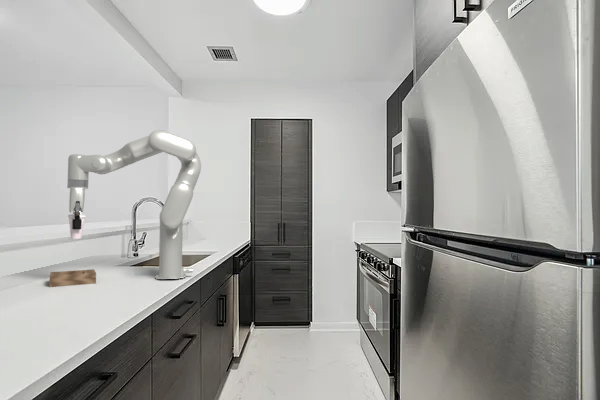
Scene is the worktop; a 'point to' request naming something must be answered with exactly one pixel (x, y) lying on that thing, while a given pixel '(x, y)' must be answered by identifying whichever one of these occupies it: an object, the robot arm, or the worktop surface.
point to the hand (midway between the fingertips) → (76, 228)
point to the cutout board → (72, 277)
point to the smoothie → (76, 232)
